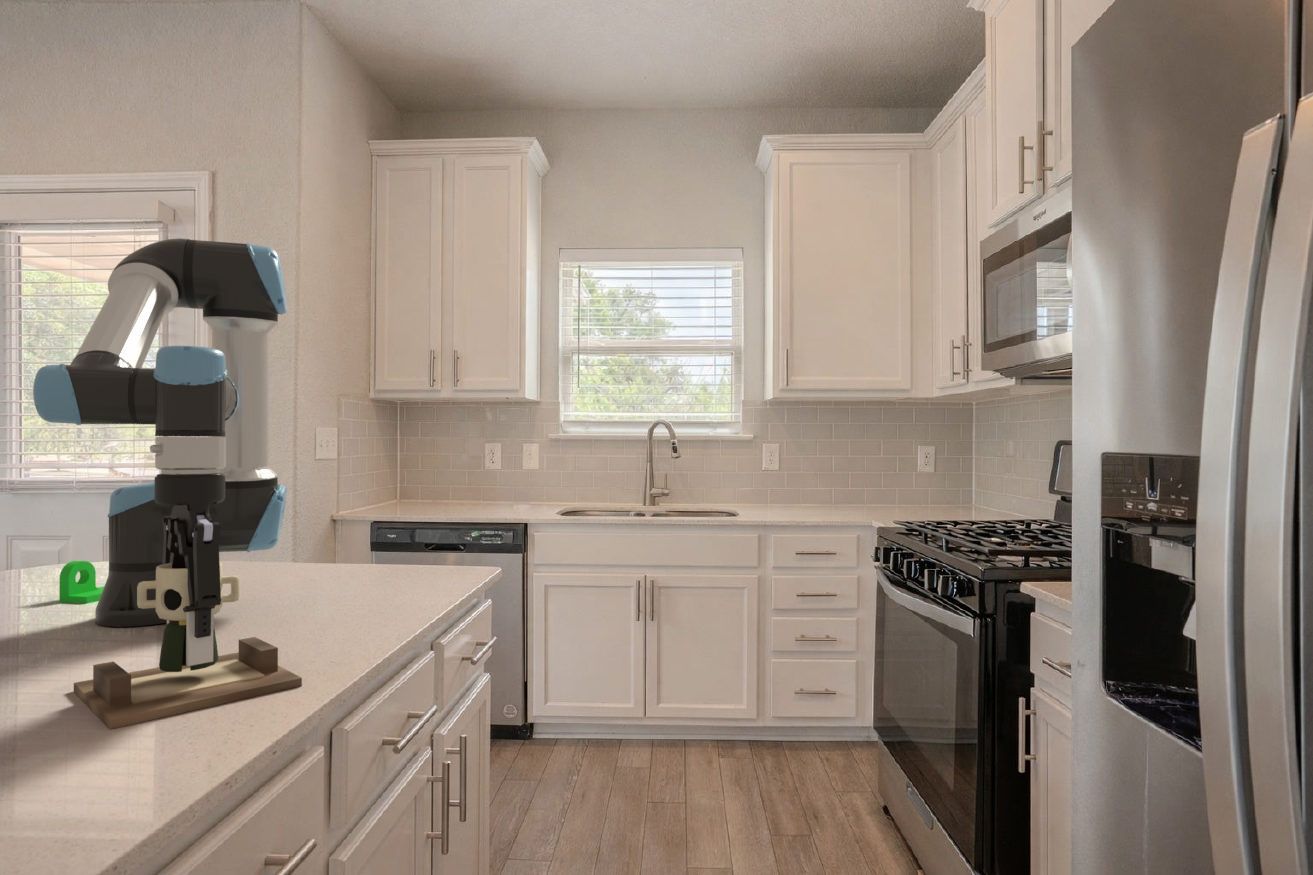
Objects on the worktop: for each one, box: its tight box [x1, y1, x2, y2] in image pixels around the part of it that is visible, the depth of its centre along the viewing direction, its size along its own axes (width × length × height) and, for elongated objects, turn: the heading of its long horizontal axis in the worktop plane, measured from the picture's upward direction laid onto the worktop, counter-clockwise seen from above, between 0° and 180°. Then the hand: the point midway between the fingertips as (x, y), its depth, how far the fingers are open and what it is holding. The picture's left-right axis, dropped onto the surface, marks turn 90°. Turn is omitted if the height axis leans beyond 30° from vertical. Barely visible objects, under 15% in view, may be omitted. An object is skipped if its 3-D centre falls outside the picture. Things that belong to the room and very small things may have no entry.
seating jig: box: [73, 636, 303, 730], centre depth 95 cm, size 18×20×4 cm
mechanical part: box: [58, 560, 105, 605], centre depth 147 cm, size 12×6×8 cm, turn 169°
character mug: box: [137, 560, 241, 672], centre depth 95 cm, size 11×7×13 cm, turn 116°
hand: (189, 656), depth 95 cm, fingers closed on character mug, 7 cm apart
